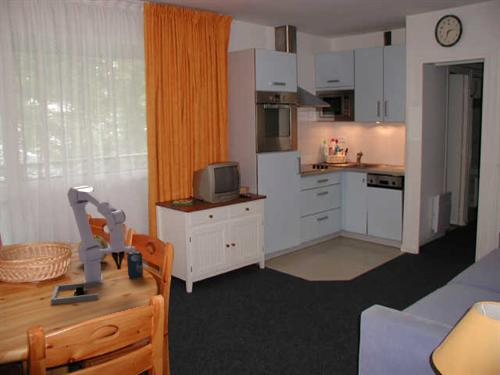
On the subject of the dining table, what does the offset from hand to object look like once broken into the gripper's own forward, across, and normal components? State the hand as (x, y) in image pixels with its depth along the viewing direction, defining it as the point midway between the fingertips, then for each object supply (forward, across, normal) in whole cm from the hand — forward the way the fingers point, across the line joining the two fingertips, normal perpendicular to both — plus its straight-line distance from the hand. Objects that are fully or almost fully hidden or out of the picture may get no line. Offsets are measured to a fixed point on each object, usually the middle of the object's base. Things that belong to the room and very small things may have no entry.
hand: (119, 268), depth 211 cm
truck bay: (+9, -18, 0) cm, 20 cm away
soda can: (+10, +7, +15) cm, 19 cm away
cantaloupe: (+10, -13, +43) cm, 46 cm away
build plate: (+10, -16, -1) cm, 19 cm away
